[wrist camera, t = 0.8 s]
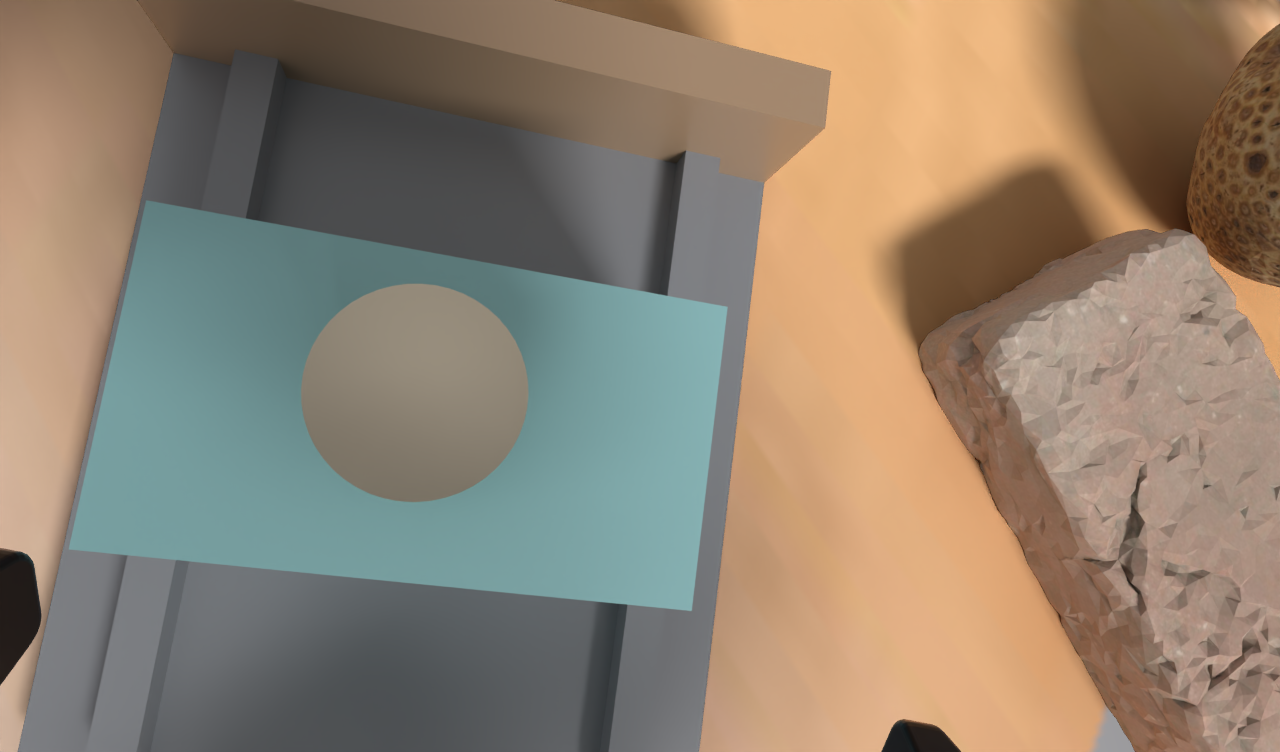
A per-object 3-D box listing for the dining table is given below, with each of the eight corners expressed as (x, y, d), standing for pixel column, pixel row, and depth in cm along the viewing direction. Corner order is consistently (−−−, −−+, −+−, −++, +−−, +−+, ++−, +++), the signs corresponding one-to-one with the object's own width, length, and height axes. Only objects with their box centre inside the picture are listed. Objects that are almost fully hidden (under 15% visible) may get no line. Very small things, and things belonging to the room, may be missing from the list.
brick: (897, 352, 26) (993, 329, 21) (1083, 238, 28) (1207, 196, 23) (1137, 794, 26) (1282, 866, 21) (1302, 651, 28) (1467, 690, 23)
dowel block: (615, 562, 21) (813, 690, 9) (207, 517, 19) (-190, 609, 7) (643, 354, 22) (856, 233, 10) (253, 289, 20) (-42, 44, 8)
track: (680, 787, 22) (746, 883, 17) (40, 754, 19) (-112, 861, 14) (755, 146, 25) (831, 66, 20) (201, 20, 21) (122, -115, 16)
